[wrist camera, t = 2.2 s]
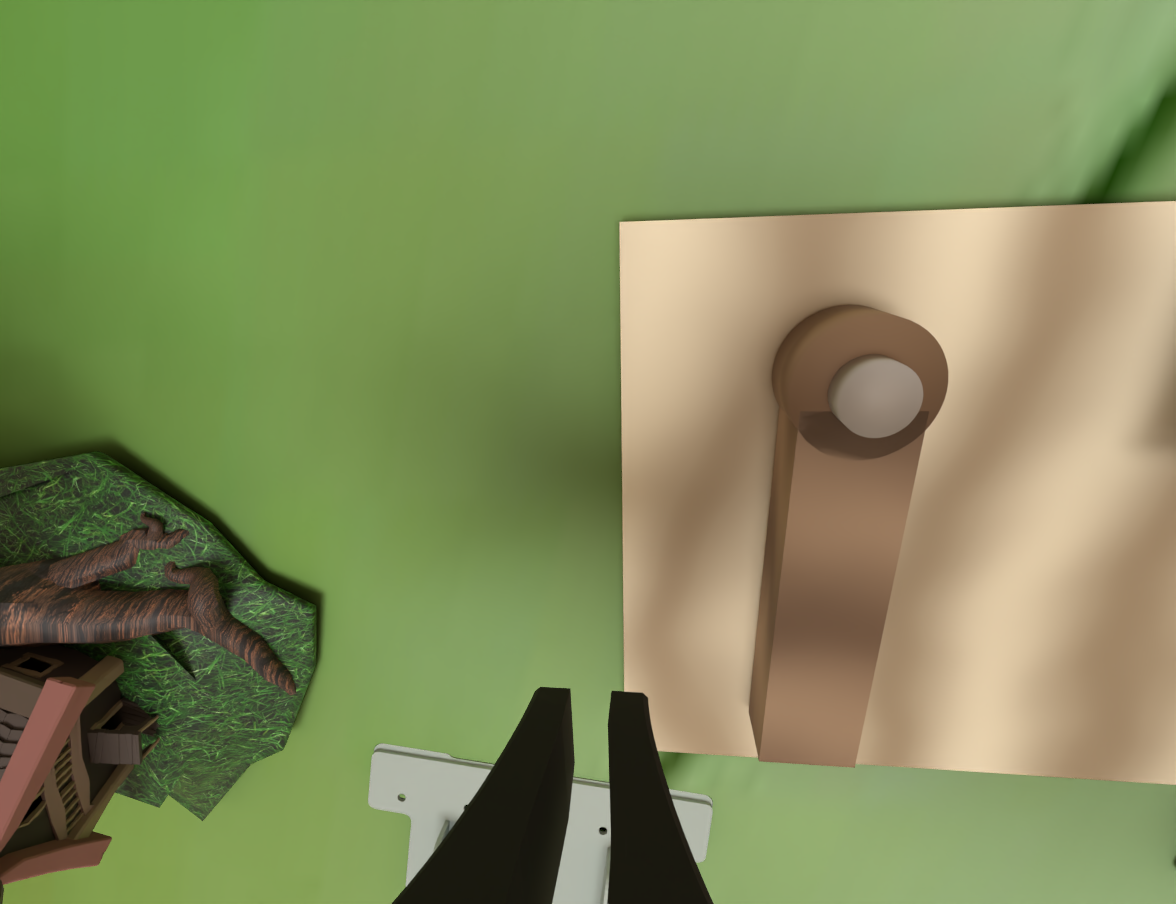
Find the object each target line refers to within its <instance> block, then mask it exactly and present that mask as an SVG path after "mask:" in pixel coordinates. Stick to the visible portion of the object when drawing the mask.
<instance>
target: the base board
mask: <svg viewBox="0 0 1176 904" xmlns="http://www.w3.org/2000/svg"><path fill="white" fill-rule="evenodd" d="M848 304H852V305H863V306H868V307H871V308H874V309H877V310H880V311H883V312H887V313H890V314H893V315H896V316H899V317H902V318H905V319H908V320H911V321H913V322H915V323H917V324H919V325H921V326H922V327H923V328H925V329H926V330H928V331H929V332H930V333H931V334H932V335H933V336H934V337H935V339H936V340H937V342H938V343H939V344H940V346H941V348H942V350H943V352H944V354H945V357H946V361H947V365H948V388H947V393H946V396H945V400H944V402H943V405H942V407H941V409H940V411H939V413H938V414H937V416H936V418H935V419H934V421H933V422H932V423H931V424H930V426H929V427H928V428H927V429H926V430H925V434H924V439H923V444H922V449H921V453H920V458H919V463H918V468H917V472H916V477H915V482H914V487H913V491H912V496H911V501H910V506H909V511H908V515H907V520H906V525H905V530H904V534H903V539H902V544H901V549H900V554H899V558H898V563H897V568H896V573H895V577H894V582H893V587H892V592H891V597H890V601H889V606H888V611H887V616H886V620H885V625H884V630H883V635H882V640H881V644H880V649H879V654H878V659H877V663H876V668H875V673H874V678H873V683H872V687H871V692H870V697H869V702H868V706H867V711H866V716H865V721H864V726H863V730H862V735H861V740H860V745H859V749H858V754H857V759H856V764H866V765H881V766H896V767H911V768H927V769H942V770H957V771H972V772H988V773H1003V774H1018V775H1034V776H1049V777H1064V778H1079V779H1095V780H1110V781H1125V782H1140V783H1156V784H1171V785H1176V201H1162V202H1136V203H1109V204H1083V205H1056V206H1030V207H1003V208H977V209H951V210H924V211H898V212H871V213H845V214H818V215H792V216H765V217H739V218H713V219H686V220H660V221H633V222H620V317H621V416H622V516H623V615H624V692H641V693H644V694H645V695H646V696H647V697H648V704H649V713H650V719H651V725H652V730H653V735H654V739H655V743H656V747H657V751H667V752H682V753H697V754H713V755H728V756H743V757H758V754H757V749H756V745H755V740H754V735H753V730H752V726H751V721H750V716H749V712H748V711H749V702H750V692H751V682H752V672H753V663H754V653H755V643H756V633H757V624H758V614H759V604H760V594H761V585H762V575H763V565H764V555H765V545H766V536H767V526H768V516H769V506H770V497H771V487H772V477H773V467H774V458H775V448H776V438H777V428H778V419H779V409H780V406H779V405H778V403H777V400H776V398H775V395H774V392H773V386H772V370H773V364H774V361H775V357H776V355H777V352H778V350H779V348H780V346H781V344H782V343H783V341H784V340H785V338H786V337H787V336H788V334H789V333H790V332H791V331H792V330H793V329H794V328H795V327H796V326H797V325H798V324H799V323H801V322H802V321H803V320H804V319H806V318H808V317H809V316H811V315H812V314H815V313H817V312H819V311H821V310H824V309H826V308H829V307H834V306H838V305H848Z"/></svg>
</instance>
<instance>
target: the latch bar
mask: <svg viewBox="0 0 1176 904" xmlns="http://www.w3.org/2000/svg"><path fill="white" fill-rule="evenodd" d="M772 386H773V392H774V395H775V398H776V400H777V403H778V405H779V406H780V409H779V419H778V428H777V438H776V448H775V458H774V467H773V477H772V487H771V497H770V506H769V516H768V526H767V536H766V545H765V555H764V565H763V575H762V585H761V594H760V604H759V614H758V624H757V633H756V643H755V653H754V663H753V672H752V682H751V692H750V702H749V711H748V712H749V716H750V721H751V726H752V730H753V735H754V740H755V745H756V749H757V754H758V759H759V761H764V762H779V763H794V764H809V765H824V766H839V767H855V764H856V759H857V754H858V749H859V745H860V740H861V735H862V730H863V726H864V721H865V716H866V711H867V706H868V702H869V697H870V692H871V687H872V683H873V678H874V673H875V668H876V663H877V659H878V654H879V649H880V644H881V640H882V635H883V630H884V625H885V620H886V616H887V611H888V606H889V601H890V597H891V592H892V587H893V582H894V577H895V573H896V568H897V563H898V558H899V554H900V549H901V544H902V539H903V534H904V530H905V525H906V520H907V515H908V511H909V506H910V501H911V496H912V491H913V487H914V482H915V477H916V472H917V468H918V463H919V458H920V453H921V449H922V444H923V439H924V434H925V430H926V429H927V428H928V427H929V426H930V424H931V423H932V422H933V421H934V419H935V418H936V416H937V414H938V413H939V411H940V409H941V407H942V405H943V402H944V400H945V396H946V393H947V388H948V365H947V361H946V357H945V354H944V352H943V350H942V348H941V346H940V344H939V343H938V342H937V340H936V339H935V337H934V336H933V335H932V334H931V333H930V332H929V331H928V330H926V329H925V328H923V327H922V326H921V325H919V324H917V323H915V322H913V321H911V320H908V319H905V318H902V317H899V316H896V315H893V314H890V313H887V312H883V311H880V310H877V309H874V308H871V307H868V306H863V305H852V304H848V305H838V306H834V307H829V308H826V309H824V310H821V311H819V312H817V313H815V314H812V315H811V316H809V317H808V318H806V319H804V320H803V321H802V322H801V323H799V324H798V325H797V326H796V327H795V328H794V329H793V330H792V331H791V332H790V333H789V334H788V336H787V337H786V338H785V340H784V341H783V343H782V344H781V346H780V348H779V350H778V352H777V355H776V357H775V361H774V364H773V370H772Z"/></svg>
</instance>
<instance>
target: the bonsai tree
mask: <svg viewBox="0 0 1176 904" xmlns="http://www.w3.org/2000/svg"><path fill="white" fill-rule="evenodd" d="M315 666H316V605H314V604H312V603H310V602H308V601H306V600H304V599H301V598H299V597H297V596H295V595H293V594H291V593H289V592H287V591H285V590H283V589H281V588H279V587H277V586H275V585H273V584H271V583H269V582H267V581H265V580H263V579H262V577H261V576H260V575H259V574H258V573H257V572H256V571H255V570H254V569H253V568H252V567H251V565H250V564H249V563H248V562H247V561H246V560H245V559H244V558H243V557H242V556H241V555H240V553H239V552H238V551H237V550H236V549H235V548H234V547H233V546H232V545H231V544H230V543H229V542H228V540H227V539H226V538H225V537H224V536H223V535H222V534H221V533H220V532H219V531H218V530H217V528H216V527H215V526H214V525H213V524H212V523H211V522H209V521H208V520H206V519H205V518H203V517H202V516H200V515H198V514H197V513H195V512H194V511H192V510H191V509H189V508H187V507H186V506H184V505H183V504H181V503H180V502H178V501H176V500H175V499H173V498H172V497H170V496H169V495H167V494H166V493H164V492H163V491H161V490H160V489H158V488H157V487H155V486H154V485H152V484H151V483H149V482H148V481H146V480H144V479H143V478H141V477H140V476H138V475H137V474H135V473H134V472H132V471H131V470H129V469H128V468H126V467H125V466H123V465H122V464H120V463H119V462H117V461H116V460H114V459H113V458H111V457H110V456H108V455H107V454H105V453H102V452H100V451H97V452H90V453H85V454H79V455H73V456H68V457H62V458H56V459H50V460H45V461H39V462H33V463H28V464H22V465H16V466H11V467H5V468H0V904H2V901H3V892H4V888H3V885H4V884H8V883H11V882H15V881H19V880H23V879H27V878H31V877H35V876H39V875H43V874H47V873H51V872H57V871H62V870H68V869H74V868H82V867H90V866H97V865H98V864H99V863H100V861H101V859H102V856H103V854H104V852H105V851H106V849H107V847H108V845H109V843H110V841H111V840H112V838H111V837H110V836H106V835H103V834H100V833H96V832H93V829H94V827H95V825H96V824H97V822H98V820H99V818H100V817H101V815H102V813H103V811H104V810H105V808H106V806H107V804H108V803H109V801H110V799H111V798H112V796H113V794H114V793H115V792H116V793H119V794H122V795H124V796H127V797H130V798H133V799H136V800H139V801H142V802H145V803H147V804H150V805H153V806H156V807H160V806H161V805H162V803H163V802H164V800H165V799H166V797H167V796H168V795H170V796H171V797H172V798H173V799H175V800H176V801H177V802H179V803H180V804H181V805H183V806H184V807H185V808H186V809H188V810H189V811H190V812H192V813H193V814H194V815H195V816H197V817H198V818H199V819H201V820H202V821H203V820H204V819H205V818H206V817H207V815H208V814H209V813H210V812H211V811H212V810H213V808H214V807H215V806H216V805H217V804H218V802H219V801H220V800H221V799H222V798H223V796H224V795H225V794H226V793H227V792H228V791H229V789H230V788H231V787H232V786H233V785H234V783H235V782H236V781H237V780H238V779H239V777H240V776H241V775H242V774H243V773H244V772H245V770H246V769H247V768H248V767H249V766H250V764H252V763H254V762H257V761H259V760H261V759H264V758H266V757H268V756H270V755H273V754H275V753H277V752H279V751H282V750H283V749H284V747H285V745H286V743H287V740H288V738H289V735H290V732H291V730H292V727H293V724H294V722H295V719H296V716H297V714H298V711H299V709H300V706H301V703H302V701H303V698H304V695H305V693H306V690H307V688H308V685H309V682H310V680H311V677H312V674H313V672H314V669H315Z"/></svg>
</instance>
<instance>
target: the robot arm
mask: <svg viewBox="0 0 1176 904" xmlns="http://www.w3.org/2000/svg"><path fill="white" fill-rule="evenodd" d="M608 742H609V782H610V821H611V852H610V872H609V886H608V900H607V904H713V902H712V899H711V897H710V895H709V893H708V891H707V888H706V886H705V884H704V881H703V879H702V877H701V874H700V872H699V869H698V867H697V864H696V862H695V860H694V857H693V855H692V852H691V849H690V847H689V844H688V842H687V839H686V836H685V834H684V831H683V829H682V826H681V823H680V820H679V818H678V815H677V812H676V809H675V807H674V803H673V800H672V797H671V794H670V791H669V788H668V785H667V782H666V779H665V776H664V773H663V769H662V766H661V762H660V759H659V755H658V751H657V747H656V743H655V739H654V735H653V730H652V725H651V719H650V713H649V704H648V697H647V696H646V695H645V694H644V693H641V692H622V691H612V693H611V701H610V710H609V719H608ZM574 763H575V762H574V745H573V728H572V710H571V693H570V689H567V688H549V687H540V688H539V689H537V690H536V691H535V693H534V695H533V697H532V699H531V701H530V703H529V705H528V707H527V709H526V711H525V713H524V715H523V717H522V719H521V721H520V722H519V724H518V726H517V728H516V730H515V731H514V733H513V735H512V737H511V738H510V740H509V742H508V743H507V745H506V747H505V749H504V750H503V752H502V753H501V755H500V757H499V758H498V760H497V761H496V763H495V765H494V766H493V768H492V769H491V771H490V773H489V774H488V776H487V777H486V779H485V781H484V782H483V784H482V785H481V787H480V788H479V790H478V791H477V793H476V794H475V796H474V797H473V798H472V800H471V801H470V803H469V804H468V806H467V807H466V808H465V810H464V811H463V813H462V814H461V816H460V817H459V818H458V820H457V821H456V823H455V824H454V826H453V827H452V828H451V830H450V831H449V833H448V834H447V835H446V837H445V838H444V839H443V841H442V842H441V843H440V845H439V846H438V847H437V849H436V850H435V851H434V853H433V854H432V855H431V856H430V858H429V859H428V860H427V862H426V863H425V864H424V865H423V867H422V868H421V869H420V870H419V871H418V873H417V874H416V875H415V876H414V878H413V879H412V880H411V881H410V883H409V884H408V885H407V886H406V888H405V889H404V890H403V891H402V892H401V893H400V895H399V896H398V897H397V898H396V899H395V900H394V902H393V903H392V904H552V902H553V897H554V892H555V887H556V882H557V877H558V872H559V866H560V861H561V856H562V851H563V846H564V841H565V836H566V831H567V825H568V820H569V811H570V802H571V793H572V783H573V773H574Z"/></svg>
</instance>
